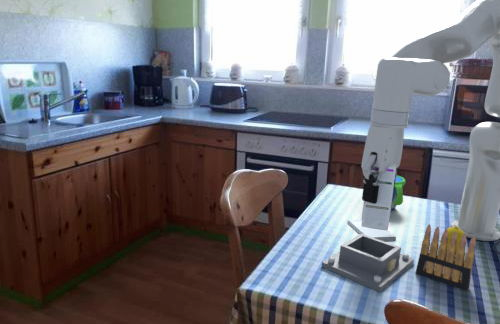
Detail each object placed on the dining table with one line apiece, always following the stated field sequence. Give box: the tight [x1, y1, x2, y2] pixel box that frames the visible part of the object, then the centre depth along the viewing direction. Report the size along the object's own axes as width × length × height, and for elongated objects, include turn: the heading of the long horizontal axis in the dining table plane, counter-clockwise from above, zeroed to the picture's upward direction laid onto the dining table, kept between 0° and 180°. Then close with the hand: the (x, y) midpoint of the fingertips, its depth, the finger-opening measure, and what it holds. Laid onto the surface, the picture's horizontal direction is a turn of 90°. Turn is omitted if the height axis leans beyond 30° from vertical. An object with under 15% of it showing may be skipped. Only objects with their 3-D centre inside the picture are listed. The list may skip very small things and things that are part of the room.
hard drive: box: [347, 218, 397, 242], centre depth 115 cm, size 2×8×12 cm
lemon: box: [440, 226, 464, 256], centre depth 101 cm, size 6×6×8 cm
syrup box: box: [361, 164, 396, 231], centre depth 91 cm, size 6×6×14 cm
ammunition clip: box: [415, 223, 477, 292], centre depth 89 cm, size 11×2×12 cm, turn 53°
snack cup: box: [391, 174, 406, 211], centre depth 133 cm, size 16×10×10 cm
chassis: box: [321, 234, 415, 293], centre depth 95 cm, size 18×14×5 cm
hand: (377, 197), depth 91 cm, fingers closed on syrup box, 7 cm apart
